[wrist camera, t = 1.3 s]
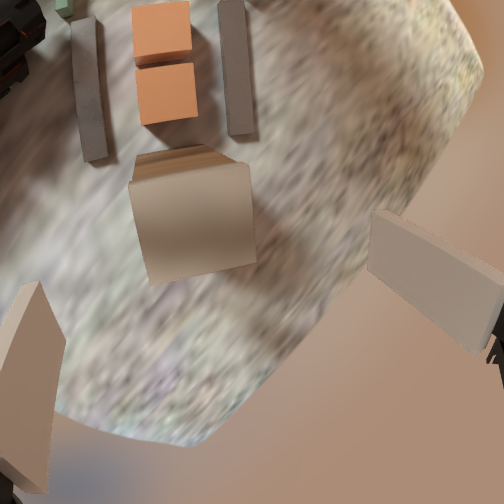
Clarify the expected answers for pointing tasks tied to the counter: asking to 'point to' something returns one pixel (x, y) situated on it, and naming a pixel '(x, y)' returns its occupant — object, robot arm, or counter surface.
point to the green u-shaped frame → (64, 8)
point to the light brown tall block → (192, 212)
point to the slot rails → (90, 89)
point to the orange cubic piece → (166, 93)
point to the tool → (18, 39)
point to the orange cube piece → (161, 32)
